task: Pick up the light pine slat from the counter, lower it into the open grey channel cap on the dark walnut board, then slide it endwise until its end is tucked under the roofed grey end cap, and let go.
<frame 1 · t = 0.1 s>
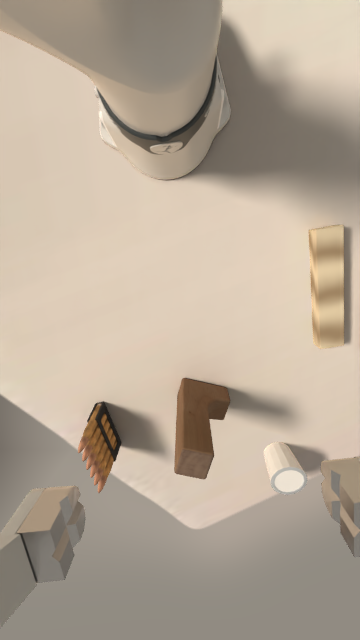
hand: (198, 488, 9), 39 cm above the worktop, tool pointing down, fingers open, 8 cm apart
white cylinder: (276, 451, 57), on the worktop
ammunition clip: (109, 422, 55), on the worktop
pine slat: (321, 287, 46), on the worktop
wooden block: (201, 391, 53), on the worktop
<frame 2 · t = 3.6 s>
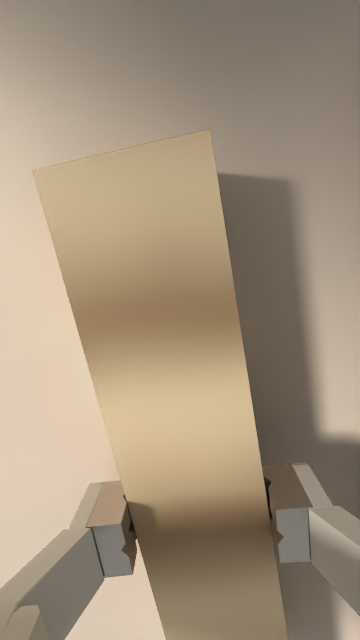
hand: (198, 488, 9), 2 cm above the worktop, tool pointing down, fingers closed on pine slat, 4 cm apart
pine slat: (197, 450, 11), on the worktop, touching gripper
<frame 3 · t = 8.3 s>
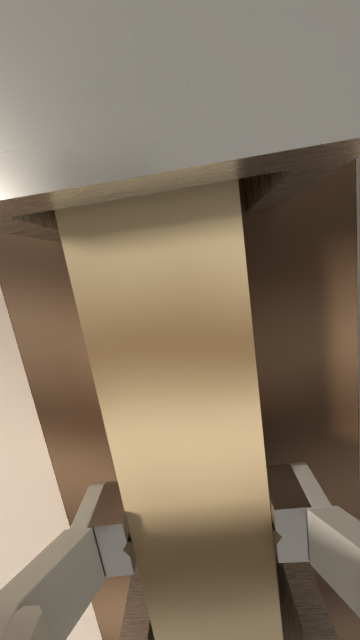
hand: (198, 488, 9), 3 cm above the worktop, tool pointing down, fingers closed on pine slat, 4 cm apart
end caps: (196, 459, 8), on the base board, point 4 cm above the worktop
pine slat: (199, 472, 11), point 1 cm above the worktop, touching gripper
base board: (194, 403, 11), on the worktop
when the fingers open (3 cm above the worktop, at t = 10.0 s): pine slat stays where it is, resting on base board.
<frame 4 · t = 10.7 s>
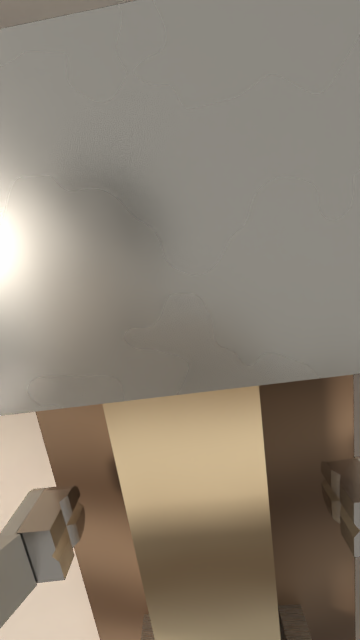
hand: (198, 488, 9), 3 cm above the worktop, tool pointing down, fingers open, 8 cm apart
end caps: (206, 551, 8), on the base board, point 4 cm above the worktop
pine slat: (200, 479, 11), point 1 cm above the worktop, touching base board
base board: (201, 472, 12), on the worktop
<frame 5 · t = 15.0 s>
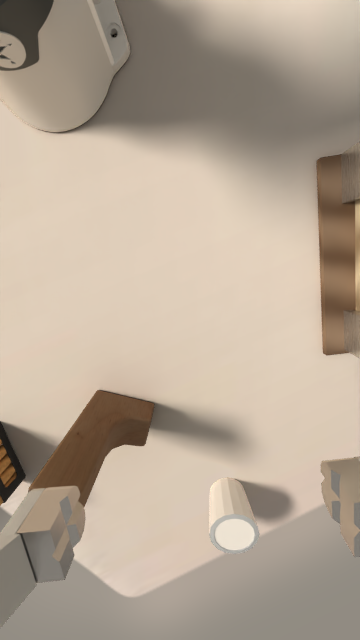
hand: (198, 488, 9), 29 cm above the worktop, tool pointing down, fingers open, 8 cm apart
white cylinder: (226, 491, 44), on the worktop
ammunition clip: (8, 449, 43), on the worktop
wooden block: (123, 407, 41), on the worktop
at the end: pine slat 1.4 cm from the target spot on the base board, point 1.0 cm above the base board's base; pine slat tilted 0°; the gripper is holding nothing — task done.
